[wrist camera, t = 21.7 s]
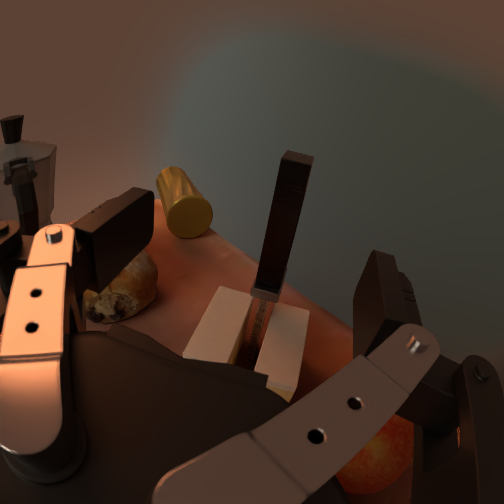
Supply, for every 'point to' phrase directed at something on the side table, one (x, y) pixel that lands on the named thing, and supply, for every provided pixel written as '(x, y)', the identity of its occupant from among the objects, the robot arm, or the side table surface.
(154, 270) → the bread roll
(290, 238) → the knife
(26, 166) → the coffee maker
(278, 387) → the slotted wooden block
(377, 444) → the apple
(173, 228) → the vase
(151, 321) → the side table surface
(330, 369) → the side table surface
